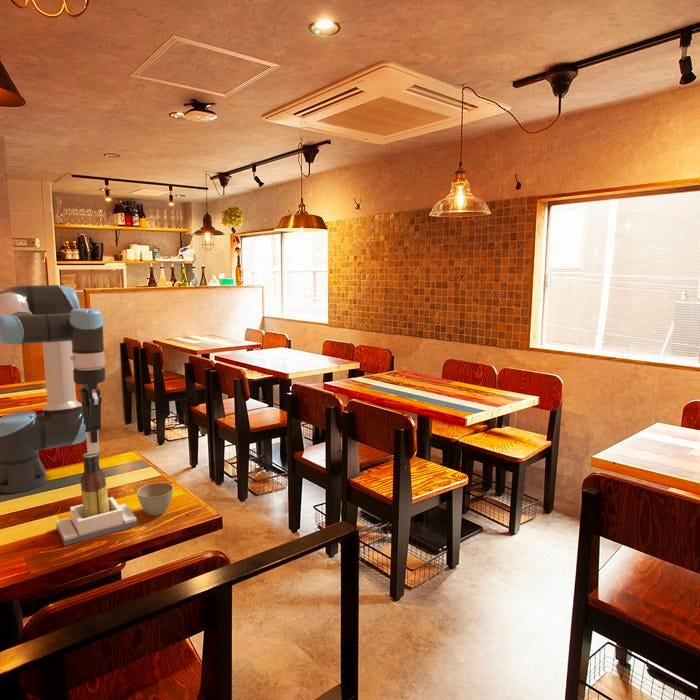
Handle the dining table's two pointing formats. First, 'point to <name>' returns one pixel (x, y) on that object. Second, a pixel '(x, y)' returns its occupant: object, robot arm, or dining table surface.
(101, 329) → the robot arm
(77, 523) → the caddy
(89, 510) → the sauce bottle
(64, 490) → the dining table surface
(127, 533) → the dining table surface
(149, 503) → the flower pot
